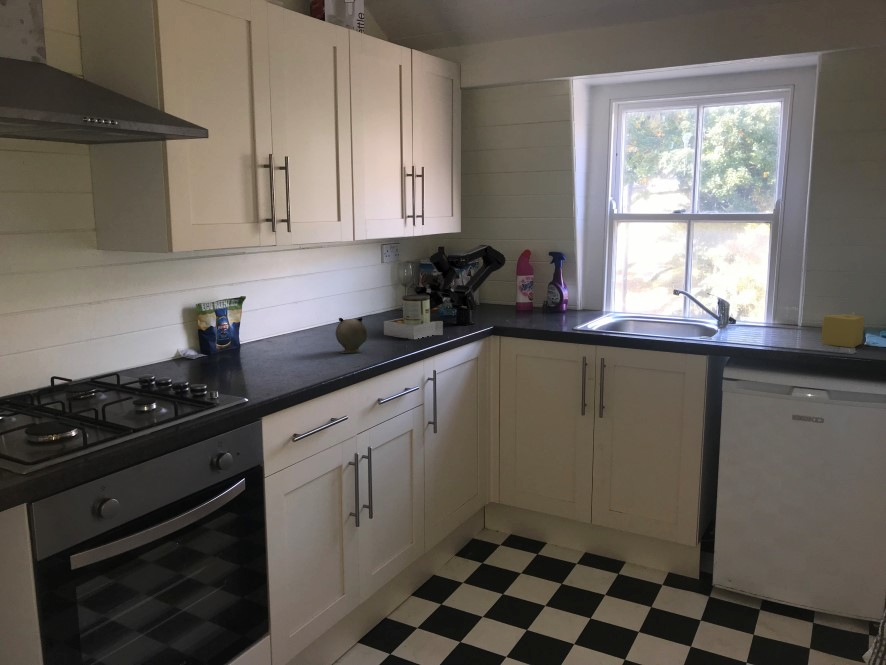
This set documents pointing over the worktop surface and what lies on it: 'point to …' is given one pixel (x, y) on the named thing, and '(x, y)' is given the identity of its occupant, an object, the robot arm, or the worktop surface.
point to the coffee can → (416, 309)
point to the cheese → (842, 330)
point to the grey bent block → (412, 329)
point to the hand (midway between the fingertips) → (425, 311)
